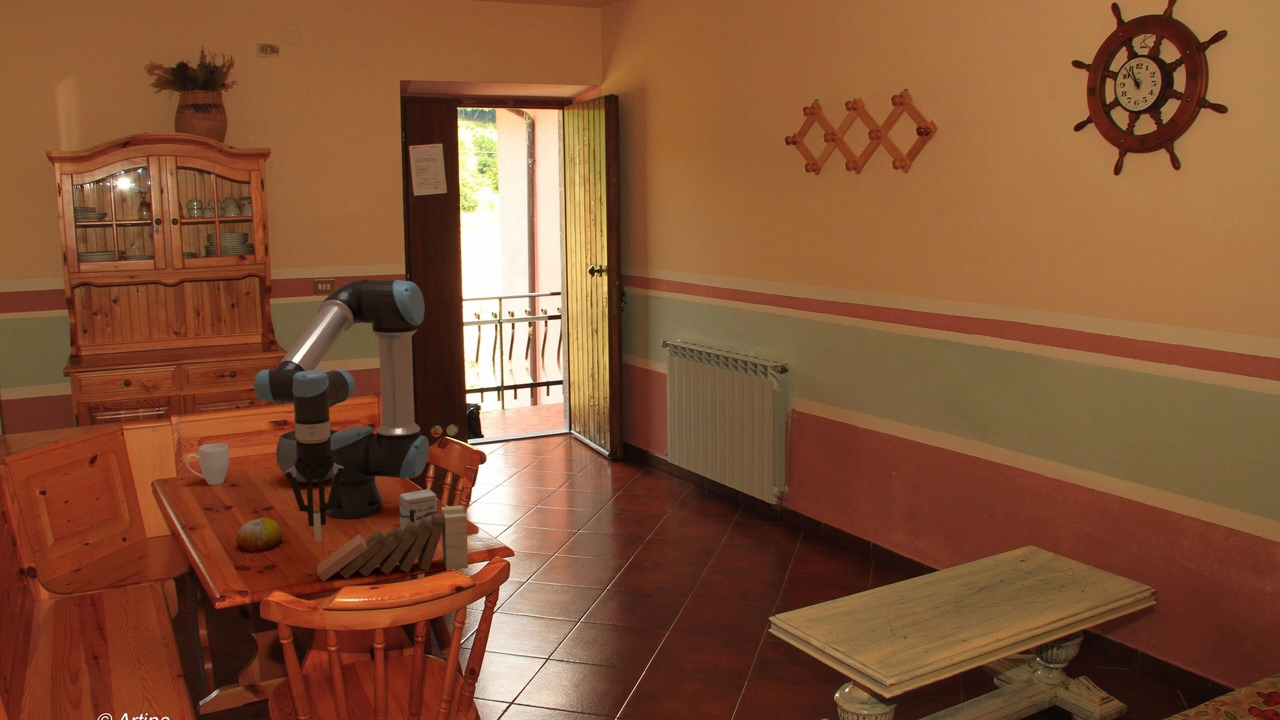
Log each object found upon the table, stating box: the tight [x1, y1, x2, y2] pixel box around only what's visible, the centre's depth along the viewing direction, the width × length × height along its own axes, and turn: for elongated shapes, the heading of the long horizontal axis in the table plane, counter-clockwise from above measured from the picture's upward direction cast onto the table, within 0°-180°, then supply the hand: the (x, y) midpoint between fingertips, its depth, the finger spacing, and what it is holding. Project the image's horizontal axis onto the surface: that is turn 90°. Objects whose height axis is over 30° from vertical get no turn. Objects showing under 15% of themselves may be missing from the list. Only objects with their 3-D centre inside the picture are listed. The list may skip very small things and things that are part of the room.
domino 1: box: [316, 533, 367, 583], centre depth 230 cm, size 6×2×12 cm
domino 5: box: [397, 517, 433, 573], centre depth 235 cm, size 6×2×12 cm
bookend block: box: [440, 504, 469, 571], centre depth 238 cm, size 8×5×13 cm, turn 18°
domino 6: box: [416, 513, 445, 571], centre depth 236 cm, size 6×2×12 cm, turn 18°
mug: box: [185, 442, 230, 486], centre depth 298 cm, size 12×8×11 cm
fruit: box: [235, 516, 283, 553], centre depth 249 cm, size 11×10×8 cm
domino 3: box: [358, 525, 404, 577], centre depth 233 cm, size 6×2×12 cm
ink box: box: [399, 488, 438, 531], centre depth 255 cm, size 8×5×12 cm, turn 123°
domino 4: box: [378, 521, 420, 576], centre depth 234 cm, size 6×2×12 cm
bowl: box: [275, 428, 339, 484], centre depth 302 cm, size 20×20×15 cm
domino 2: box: [339, 528, 387, 580], centre depth 232 cm, size 6×2×12 cm
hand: (318, 538), depth 228 cm, fingers closed
